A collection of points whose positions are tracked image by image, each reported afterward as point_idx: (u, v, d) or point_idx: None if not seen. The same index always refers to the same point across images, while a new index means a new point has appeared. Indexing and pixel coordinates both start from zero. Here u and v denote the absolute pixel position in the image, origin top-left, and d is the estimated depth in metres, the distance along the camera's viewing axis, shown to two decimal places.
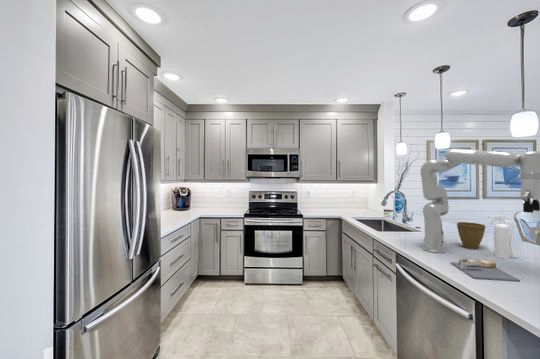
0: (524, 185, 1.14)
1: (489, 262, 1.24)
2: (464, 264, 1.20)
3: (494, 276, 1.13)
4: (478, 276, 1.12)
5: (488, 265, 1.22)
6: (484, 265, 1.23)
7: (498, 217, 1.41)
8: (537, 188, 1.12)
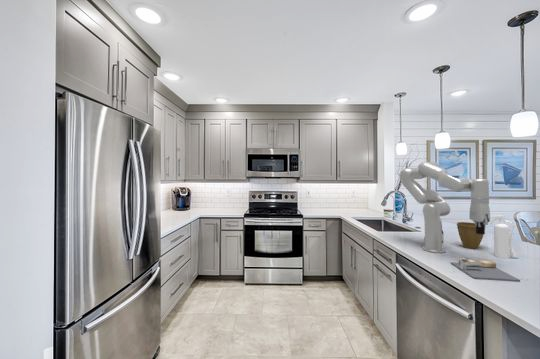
0: (483, 209, 1.26)
1: (489, 262, 1.24)
2: (464, 264, 1.20)
3: (494, 276, 1.13)
4: (478, 276, 1.12)
5: (488, 265, 1.22)
6: (484, 265, 1.23)
7: (498, 217, 1.41)
8: None
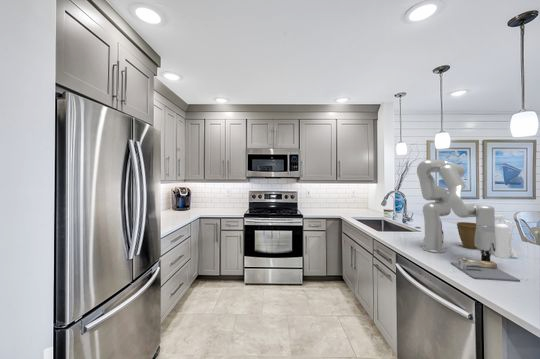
0: (489, 238, 1.22)
1: (490, 262, 1.23)
2: (464, 264, 1.20)
3: (494, 276, 1.13)
4: (478, 276, 1.12)
5: (488, 265, 1.22)
6: (484, 265, 1.22)
7: (498, 217, 1.41)
8: None
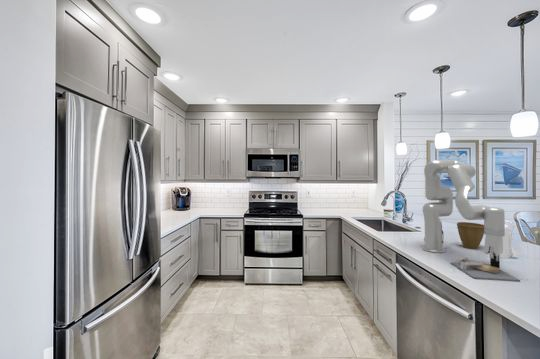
0: (488, 241, 1.17)
1: (491, 267, 1.17)
2: (464, 264, 1.20)
3: (494, 276, 1.13)
4: (478, 276, 1.12)
5: (486, 269, 1.17)
6: (482, 268, 1.19)
7: None
8: (499, 244, 1.16)
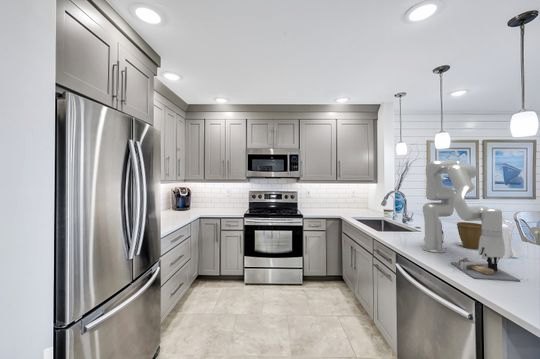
0: (481, 241, 1.16)
1: (485, 268, 1.15)
2: (464, 264, 1.20)
3: (494, 276, 1.13)
4: (478, 276, 1.12)
5: (479, 270, 1.17)
6: (476, 268, 1.18)
7: None
8: (494, 246, 1.13)
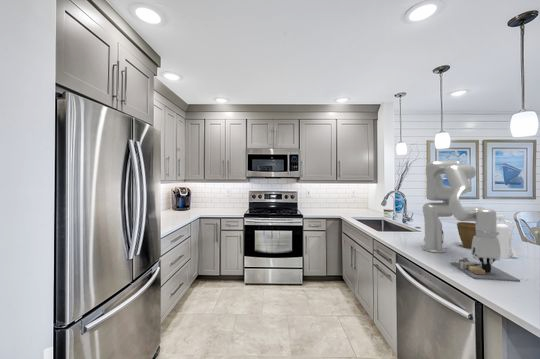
0: (473, 241, 1.17)
1: (476, 268, 1.16)
2: (464, 264, 1.20)
3: (494, 276, 1.13)
4: (478, 276, 1.12)
5: (471, 269, 1.18)
6: (469, 268, 1.19)
7: (498, 217, 1.41)
8: (485, 247, 1.13)
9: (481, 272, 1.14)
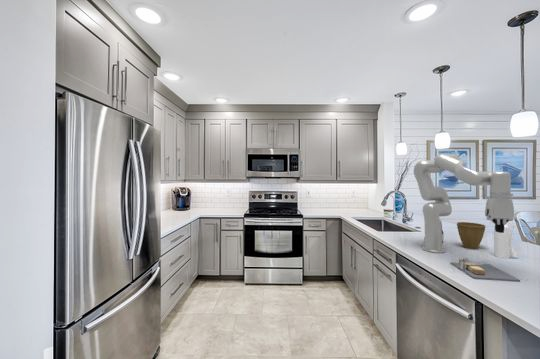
0: (487, 204, 1.20)
1: (476, 268, 1.16)
2: (464, 264, 1.20)
3: (494, 276, 1.13)
4: (478, 276, 1.12)
5: (471, 269, 1.18)
6: (469, 268, 1.19)
7: None
8: (499, 207, 1.16)
9: (481, 272, 1.14)
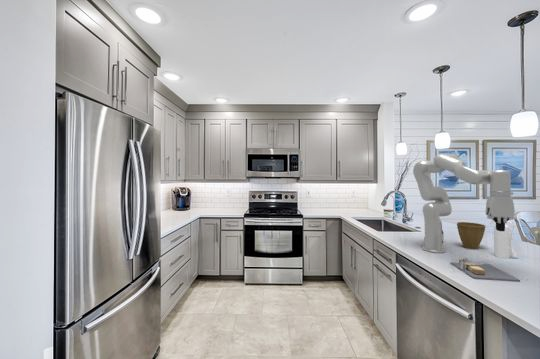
0: (487, 202, 1.20)
1: (476, 268, 1.16)
2: (464, 264, 1.20)
3: (494, 276, 1.13)
4: (478, 276, 1.12)
5: (471, 269, 1.18)
6: (469, 268, 1.19)
7: None
8: (499, 206, 1.16)
9: (481, 272, 1.14)
